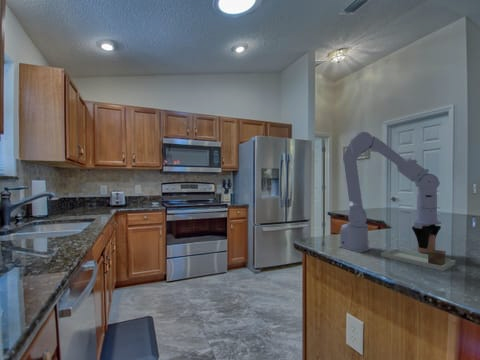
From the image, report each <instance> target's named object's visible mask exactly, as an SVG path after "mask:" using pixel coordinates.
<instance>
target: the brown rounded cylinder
mask: <svg viewBox="0 0 480 360" xmlns="http://www.w3.org/2000/svg"><path fill="white" fill-rule="evenodd" d="M429 249H433V250H436V239H435V235H433V234H430V237H429V241H428V247H427V249H424V248H419V245H418V244H417V251H418V253H422V254H427V255H428V251H429Z"/></svg>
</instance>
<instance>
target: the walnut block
mask: <svg viewBox="0 0 480 360" xmlns="http://www.w3.org/2000/svg"><path fill="white" fill-rule="evenodd" d="M427 255H428V263H431V264H435V265H439V266H442V265H444V264H445V258H446V251H445V250H440V249H435V250H433V249H429V251H428V254H427Z"/></svg>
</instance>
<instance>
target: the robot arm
mask: <svg viewBox="0 0 480 360" xmlns="http://www.w3.org/2000/svg"><path fill="white" fill-rule="evenodd" d="M368 150H369V152H372V153H373V152H374V153H379V154H380V155H382V156H383V157H384V158H386V159H387V160H389V161H390V162H392V163H393V164H395V165H396V168H397V169H396V170H397V172H399V173H400V174H401V175H403V176H404V177H405V178H407V180H409V181H411V182H412V183H413V182H414V184H415V186H416V187H417V191H416V192H417V194H416V220H415V222H414V225H413V226H411V230H413V233H414V235H415V237H416V241H417V246H418V245H419V248H424V249H427V247H428V241H429V237H430V234H433V235H435V240H436V239H437V235H438V234H439V231H440V230H441V228H442V226H441V224H442V221H439V219H438V195H437V192H438V191H437V189H438V187H439V186H440V183H441V182H440V181H439V178H438V176H436V175H435V174H433V173H429V171H430V170H429V169H428V168H426V169H425V168H424V167H422V166H421V165H420V164H418V160H417V159H412V158H404V157H402V156H401V155H400V154H399V153H397V152H396V151H395V150H394V149H392V147H390V146H389V145H387V144H386V143H385V142H384V141H382V140H380V139H379V138H377V137H376V136H374V135H373V136H372V134H370V133H369V132H367V131H361V132H358V133H357V134H356V135H354V136H353V138H352V139H350V142H349V144H348V146H347V147H346V149H345V151H344V153H343V157H342V158H343V164H344V165H343V166H344V172H345V179H346V181H345V182H346V187H347V195H348V203H349V204H348V205H349V212H348V217H347V218H348V222H347V223H344V224H342V225H341V228H340V230H339V234H340V237H339V238H340V239H339V241H340V242H339V244H340V245H338V247H339V248H341V249H342V248H343V249H346V250H351V251H355V252H358V253H363V252H367V251H371V249H372V247H371V246H369V225H368V224H367V221H368V216H367V212H366V210H365V208H364V206H363V200H362V193H361V184H360V177H359V171H358V170H359V169H358V164H357V160H358V158H359V157H361V155H362V154H364V153H365V152H366V151H368Z"/></svg>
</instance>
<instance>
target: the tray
mask: <svg viewBox="0 0 480 360" xmlns="http://www.w3.org/2000/svg"><path fill="white" fill-rule="evenodd" d="M380 257H381V258H386V259H391V260H394V261H398V262H403V263H407V264H411V265H416V266H419V267H424V268H428V269H432V270H437V271H441V272H445V271H447V270H448V269H449V268H452V267H454V266H455V265H456V260H455V259H451V258H447V257H445V264H444V265H442V266H439V265H435V264H431V263H428V254H427V253H421V252H417V251H412V250H407V249H401V248H397V247H396V248H395V247H394V248H391V249H389V250H385V251H382V252H380Z"/></svg>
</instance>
